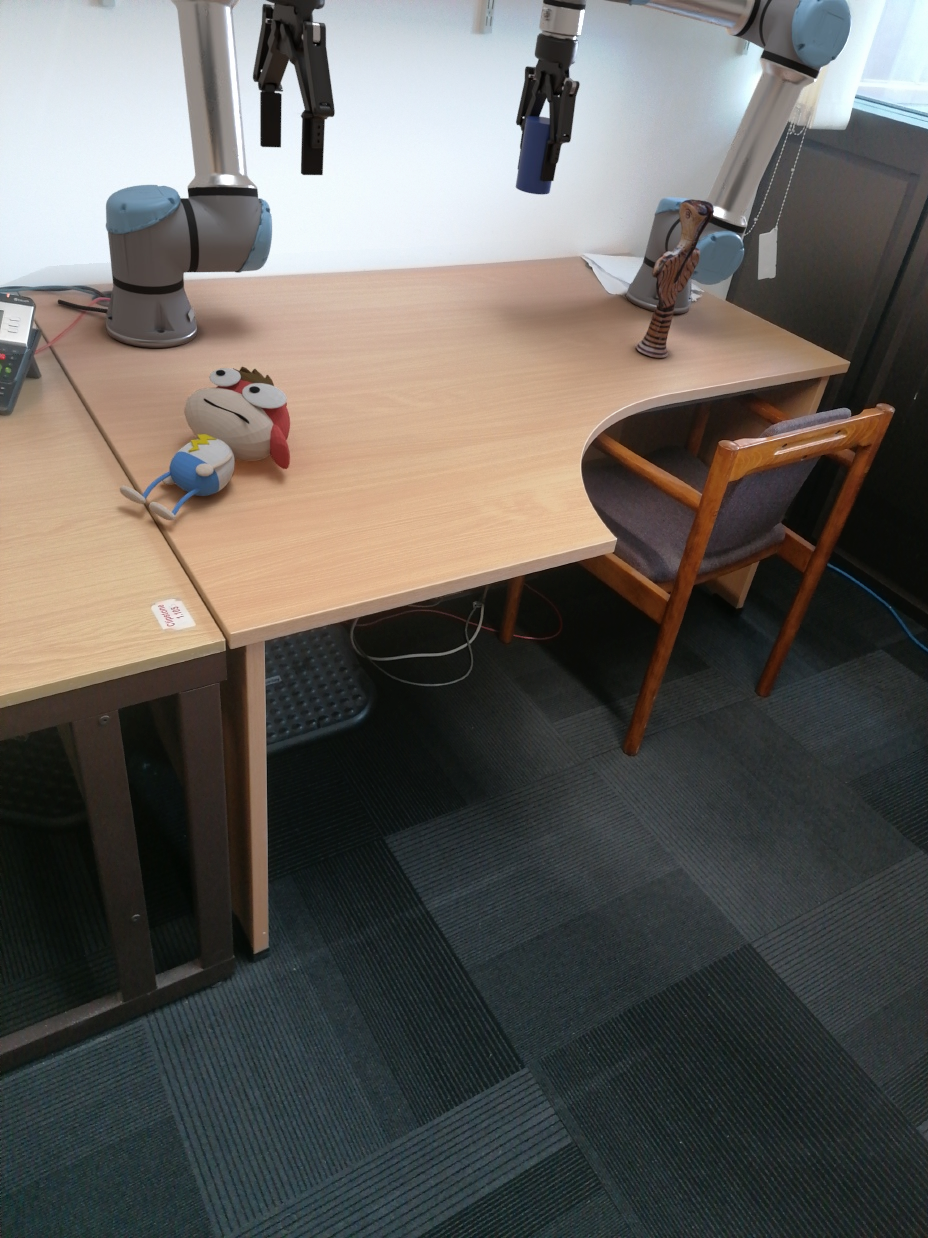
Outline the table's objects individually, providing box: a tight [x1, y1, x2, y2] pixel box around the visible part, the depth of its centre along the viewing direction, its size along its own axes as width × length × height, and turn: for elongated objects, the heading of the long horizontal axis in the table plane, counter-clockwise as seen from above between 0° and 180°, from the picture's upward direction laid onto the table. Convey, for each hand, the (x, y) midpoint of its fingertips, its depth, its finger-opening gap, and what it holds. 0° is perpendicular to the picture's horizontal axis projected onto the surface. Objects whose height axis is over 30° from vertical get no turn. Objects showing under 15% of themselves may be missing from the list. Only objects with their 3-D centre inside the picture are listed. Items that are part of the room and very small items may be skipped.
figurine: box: [635, 198, 714, 359], centre depth 176 cm, size 15×8×30 cm, turn 144°
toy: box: [119, 366, 291, 521], centre depth 123 cm, size 18×10×30 cm
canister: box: [515, 115, 557, 196], centre depth 170 cm, size 7×7×12 cm
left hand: (290, 160), depth 119 cm, fingers open, 13 cm apart
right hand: (535, 174), depth 172 cm, fingers closed on canister, 7 cm apart
